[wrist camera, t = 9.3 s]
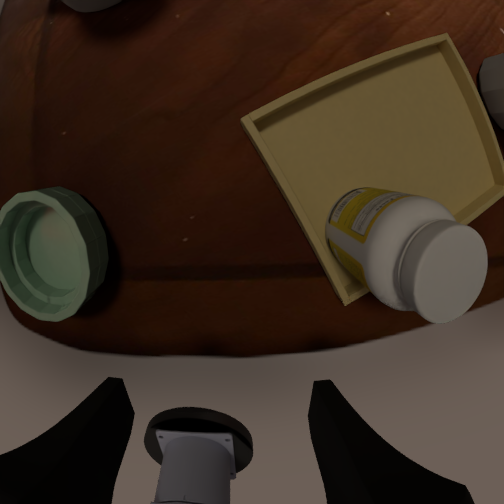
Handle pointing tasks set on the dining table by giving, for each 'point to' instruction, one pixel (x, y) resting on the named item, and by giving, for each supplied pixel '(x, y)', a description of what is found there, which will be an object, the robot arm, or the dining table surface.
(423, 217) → the supplement bottle
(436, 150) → the enamel tray
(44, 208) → the celadon dish
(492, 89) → the water bottle
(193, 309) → the dining table surface
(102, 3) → the cup
